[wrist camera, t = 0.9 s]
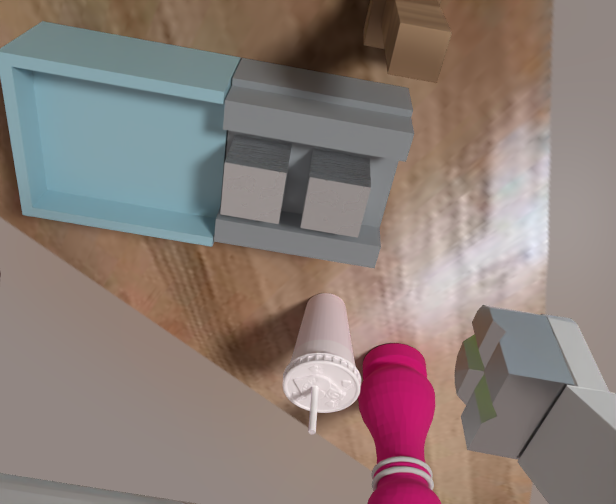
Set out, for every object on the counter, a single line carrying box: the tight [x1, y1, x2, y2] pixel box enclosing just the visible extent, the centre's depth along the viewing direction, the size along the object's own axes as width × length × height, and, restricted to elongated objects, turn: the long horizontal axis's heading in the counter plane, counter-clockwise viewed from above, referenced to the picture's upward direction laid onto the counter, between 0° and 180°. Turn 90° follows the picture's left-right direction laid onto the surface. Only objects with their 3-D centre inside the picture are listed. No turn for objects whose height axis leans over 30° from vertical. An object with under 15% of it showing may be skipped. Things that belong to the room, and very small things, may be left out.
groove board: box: [214, 58, 414, 268], centre depth 42 cm, size 12×12×6 cm
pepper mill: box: [358, 343, 441, 504], centre depth 51 cm, size 7×7×20 cm
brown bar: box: [363, 0, 452, 83], centre depth 33 cm, size 6×4×12 cm
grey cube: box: [300, 149, 371, 238], centre depth 40 cm, size 4×4×4 cm
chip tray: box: [0, 21, 241, 246], centre depth 42 cm, size 12×14×6 cm
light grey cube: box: [220, 135, 292, 224], centre depth 40 cm, size 4×4×4 cm
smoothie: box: [283, 293, 361, 434], centre depth 49 cm, size 6×6×14 cm
